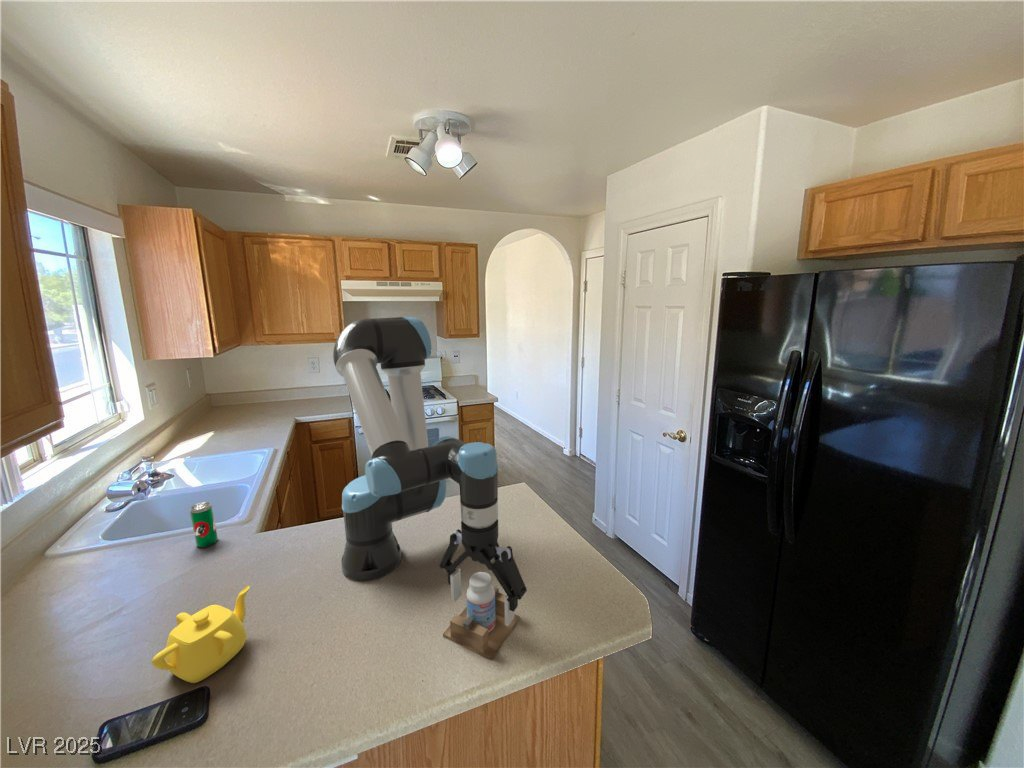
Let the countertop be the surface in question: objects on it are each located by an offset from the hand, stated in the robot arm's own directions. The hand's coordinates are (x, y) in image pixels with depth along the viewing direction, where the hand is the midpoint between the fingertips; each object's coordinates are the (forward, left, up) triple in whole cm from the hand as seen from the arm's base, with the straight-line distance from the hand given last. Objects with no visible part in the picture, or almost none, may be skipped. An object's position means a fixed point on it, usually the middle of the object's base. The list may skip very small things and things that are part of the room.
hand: (482, 609), depth 86 cm
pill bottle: (0, 0, -4) cm, 4 cm away
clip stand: (0, 0, -4) cm, 4 cm away
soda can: (-87, -13, -5) cm, 88 cm away
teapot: (-43, -32, -5) cm, 54 cm away
